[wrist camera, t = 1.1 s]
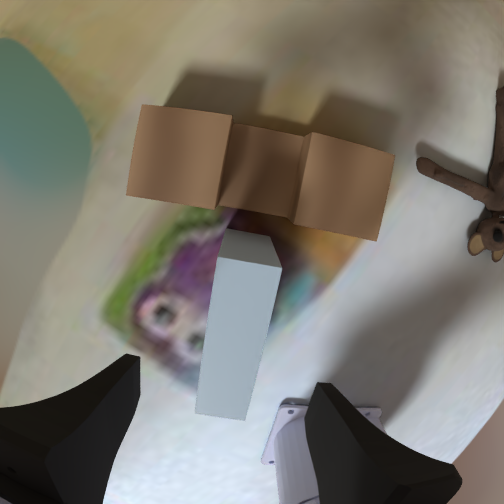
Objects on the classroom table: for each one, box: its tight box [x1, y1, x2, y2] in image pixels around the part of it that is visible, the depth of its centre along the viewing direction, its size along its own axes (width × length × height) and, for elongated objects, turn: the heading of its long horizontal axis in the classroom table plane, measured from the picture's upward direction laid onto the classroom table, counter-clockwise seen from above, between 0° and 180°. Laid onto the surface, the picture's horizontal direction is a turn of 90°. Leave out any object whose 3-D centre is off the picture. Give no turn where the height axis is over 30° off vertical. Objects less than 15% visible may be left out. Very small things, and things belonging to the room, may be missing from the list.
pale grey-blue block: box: [195, 228, 282, 421], centre depth 18 cm, size 3×9×7 cm, turn 169°
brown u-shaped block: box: [126, 105, 395, 241], centre depth 18 cm, size 14×5×4 cm, turn 79°
